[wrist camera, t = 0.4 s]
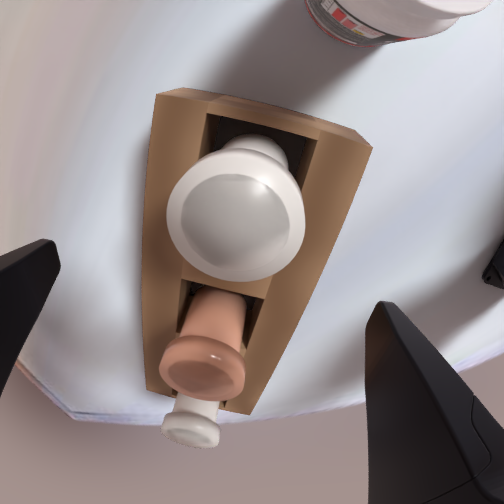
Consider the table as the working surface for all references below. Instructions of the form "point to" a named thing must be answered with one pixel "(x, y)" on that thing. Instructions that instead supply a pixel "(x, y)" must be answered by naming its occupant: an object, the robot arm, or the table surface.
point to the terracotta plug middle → (208, 347)
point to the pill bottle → (388, 18)
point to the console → (265, 290)
